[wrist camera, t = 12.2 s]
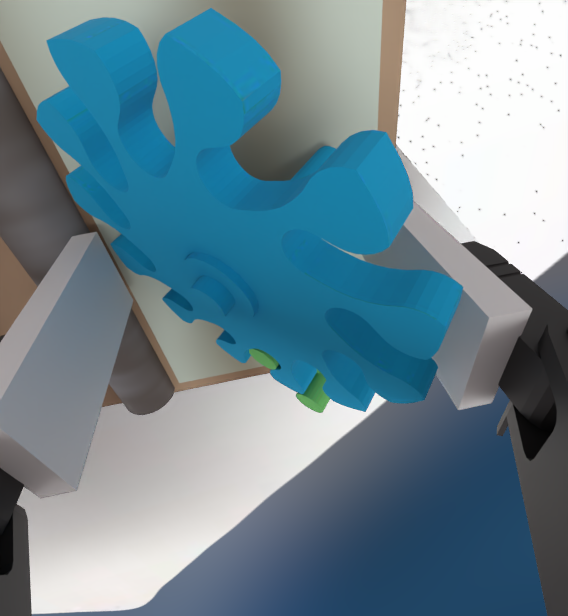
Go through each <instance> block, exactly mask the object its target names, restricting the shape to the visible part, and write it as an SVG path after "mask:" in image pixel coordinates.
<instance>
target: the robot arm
mask: <svg viewBox="0 0 568 616" xmlns="http://www.w3.org/2000/svg"><path fill="white" fill-rule="evenodd" d="M362 256H363V258H364V259H365V261H366V262H368V263H371V264H374V265H378V266H383V267H387V268H393V269H402V270H429V271H435V272H438V273H441V274H444V275H446V276H448V277H450V278H452V279H454V280H455V281H457V282H458V283H459V284H461V285H462V286H463V291H462V295H461V299H460V302H459V305H458V307H457V309H456V312H455V314H454V316H453V319H452V321H451V323H450V325H449V328H448V330H447V332H446V335H445V337H444V339H443V341H442V344H441V346H440V348H439V350H438V351H437V352H436V354H435V355H434V356H433V357H431V358H432V359H433V360H434V361H435V362H436V364H437V366H438V369H437V372H436V375H437V377H438V378H439V380H440V381H441V383H442V385H443V386H444V388H445V390H446V391H447V393H448V394H449V396H450V397H451V399H452V401H453V402H454V404H455V405H456V407H457V409H458V410H461V409H466V408H470V407H475V406H480V405H485V404H489V403H492V401H493V399H494V396H495V394H496V392H497V390H498V387H499V386H500V388H501V389H502V390H503V391H504V393H505V394H506V395H507V397H508V398H509V399H510V402H509V403H508V406H507V408H506V410H505V412H504V414H503V416H502V418H501V420H500V422H499V424H498V426H497V435H500V436H503V434H504V432H505V430H506V428H507V426H509V431H510V436H511V441H512V446H513V451H514V455H515V460H516V465H517V470H518V474H519V480H520V485H521V489H522V494H523V499H524V504H525V509H526V513H527V518H528V523H529V528H530V533H531V538H532V543H533V548H534V552H535V557H536V562H537V567H538V572H539V577H540V581H541V586H542V591H543V595H544V600H545V606H546V610H547V615H548V616H568V310H567V309H566V308H564V307H563V306H562V305H561V304H560V303H558V302H557V301H556V300H555V299H554V298H552V297H551V296H550V295H548V294H547V293H546V292H545V291H544V290H543V289H541V288H540V287H539V286H538V285H536V284H535V283H534V282H533V281H532V280H530V279H529V278H528V277H527V276H525V275H524V274H521V273H520V271H519V270H518V269H517V268H516V267H514V266H513V265H512V264H508V261H507V260H506V259H505V258H504V257H502V256H501V255H500V254H499V253H497V252H496V251H495V250H494V249H491V248H489V247H487V246H484V245H482V244H479V243H477V242H475V241H472V242H467V243H462V244H461V243H459V242H458V241H457V240H456V239H455V238H454V237H453V236H452V235H451V234H450V233H448V232H447V231H446V230H445V229H444V228H443V227H442V226H441V225H440V224H439V223H437V222H436V221H435V220H434V219H433V218H432V217H431V216H430V215H429V214H427V213H426V212H425V211H424V210H423V209H422V208H421V207H420V206H419V205H418V204H416V203H415V202H414V201H413V210H412V211H411V213H410V214H409V216H408V218H407V219H406V221H405V223H404V224H403V226H402V227H401V229H400V231H399V232H398V234H397V235H396V237H395V239H394V240H393V242H392V244H391V245H390V247H389V248H387V249H385V250H384V251H382V252H379V253H376V254H370V255H362ZM132 304H133V299H132V297H131V295H130V293H129V291H128V289H127V288H126V286H125V284H124V282H123V280H122V278H121V276H120V274H119V272H118V271H117V269H116V267H115V265H114V263H113V261H112V259H111V257H110V256H109V254H108V252H107V250H106V248H105V246H104V244H103V242H102V241H101V239H100V237H99V235H98V233H97V232H92V233H87V234H82V235H77V236H72V237H71V239H70V240H69V242H68V243H67V244H66V246H65V247H64V249H63V250H62V252H61V253H60V255H59V256H58V258H57V259H56V261H55V262H54V264H53V265H52V267H51V268H50V270H49V271H48V273H47V274H46V276H45V277H44V278H43V280H42V281H41V283H40V284H39V286H38V287H37V289H36V290H35V292H34V293H33V295H32V296H31V298H30V299H29V301H28V302H27V304H26V305H25V307H24V308H23V310H22V311H21V313H20V314H19V315H18V317H17V318H16V320H15V321H14V323H13V324H12V326H11V327H10V329H9V330H8V332H7V333H6V335H1V336H0V616H32V614H31V591H30V567H29V543H28V520H27V515H26V512H25V509H23V508H22V507H20V506H19V505H17V504H16V503H17V501H18V499H19V496H20V494H21V491H22V489H23V487H25V488H27V489H28V490H30V491H31V492H32V493H34V494H35V495H37V496H38V497H40V498H44V497H49V496H54V495H58V494H63V493H68V492H72V491H77V488H78V484H79V481H80V478H81V474H82V471H83V468H84V464H85V461H86V458H87V454H88V451H89V448H90V444H91V441H92V438H93V434H94V431H95V428H96V424H97V421H98V417H99V414H100V411H101V407H102V404H103V401H104V397H105V394H106V391H107V387H108V384H109V381H110V377H111V374H112V371H113V367H114V364H115V361H116V357H117V354H118V350H119V347H120V344H121V340H122V337H123V334H124V330H125V327H126V324H127V320H128V317H129V314H130V310H131V307H132Z"/></svg>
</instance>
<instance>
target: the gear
mask: <svg viewBox="0 0 568 616" xmlns="http://www.w3.org/2000/svg"><path fill="white" fill-rule="evenodd" d="M46 41H47V45H48V48H49V51H50V53H51V56H52V58H53V60H54V62H55V64H56V66H57V68H58V69H59V71H60V73H61V75H62V76H63V78H64V79H65V81H66V82H67V83H68V85H69V86H68V87H67V88H65V89H63V90H61V91H60V92H58V93H56V94H54V95H52V96H51V97H49V98H47V99H45V100H44V101H42V102H41V103H40V104H39V105H38V109H37V119H36V120H37V121H38V123H39V124H40V126H41V127H42V128H43V130H44V131H45V132H46V133H47V135H48V136H49V137H50V138H51V139H52V140H53V141H54V142H55V143H56V144H57V145H58V146H59V147H60V148H61V149H62V150H63V151H65V152H66V153H67V154H68V155H70V156H71V157H72V158H73V159H75V160H76V161H77V162H78V163H79V164H80V165H81V166H79V167H78V168H77V169H75V170H74V171H72V172H71V173H69V174H68V175H67V176H66V182H67V186H68V188H69V190H70V193H71V195H72V197H73V199H74V201H75V202H76V203H77V204H78V205H79V206H80V207H81V208H83V209H84V210H85V211H86V212H87V213H89V214H90V215H92V216H93V217H95V218H97V219H99V220H101V221H103V222H105V223H107V224H108V225H110V226H111V227H113V228H114V229H116V230H117V231H118V232H120V233H121V235H120V236H119V237H118V238H116V239H115V240H114V241H113V242H112V243H111V246H112V248H113V250H114V251H115V253H116V254H117V256H118V257H119V258H120V260H121V261H122V262H123V263H124V264H125V266H126V267H127V268H128V269H130V270H131V271H133V272H134V273H136V274H138V275H145V276H149V277H152V278H154V279H156V280H158V281H160V282H162V283H164V284H165V285H167V286H169V287H170V288H172V289H171V290H170V291H169V292H168V293H167V294H166V295H165V296H164V297H163V298H162V300H163V301H164V302H165V303H166V305H167V306H168V307H169V308H170V309H171V310H172V311H173V312H174V313H175V314H176V315H178V316H179V317H180V318H181V319H182V320H183V321H185V322H187V323H193V321H194V320H196V319H200V320H204V321H208V322H210V323H213V324H216V325H218V326H220V327H221V328H223V329H224V331H223V332H222V333H221V335H220V336H219V337H218V338H217V340H216V343H217V344H218V345H219V346H220V347H221V348H222V349H223V350H225V351H226V352H227V353H228V354H230V355H231V356H232V357H234V358H235V359H237V360H238V361H239V362H241V363H246V362H247V361H248V359H249V358H250V356H252V357H253V358H254V359H255V360H256V361H258V362H259V363H260V364H262V365H263V366H265V367H267V368H269V369H271V370H270V374H271V375H272V377H273V378H274V379H275V380H277V381H278V382H280V383H282V384H283V385H285V386H287V387H288V388H290V389H292V390H294V391H296V392H298V393H297V394H296V397H297V399H298V400H299V401H300V402H301V403H303V404H304V405H305V406H307V407H308V408H310V409H312V410H314V411H316V412H319V413H322V412H323V410H324V409H325V407H326V405H327V403H328V402H329V400H330V399H332V400H333V401H335V402H337V403H339V404H341V405H344V406H347V407H350V408H353V409H357V410H361V411H364V412H366V410H367V408H368V406H369V404H370V402H371V400H372V398H373V396H374V394H375V392H376V393H377V394H378V395H380V396H381V397H383V398H384V399H386V400H388V401H390V402H393V403H414V402H418V401H423V400H425V398H426V395H427V393H428V390H429V388H430V386H431V383H432V381H433V379H434V376H435V374H436V372H437V369H438V366H437V364H436V362H435V361H434V360H433V359H432V358H431V357H433V356H434V355H435V354H436V352H437V351H438V350H439V348H440V346H441V344H442V341H443V339H444V337H445V335H446V332H447V330H448V328H449V325H450V323H451V321H452V319H453V316H454V314H455V312H456V309H457V307H458V305H459V302H460V299H461V295H462V291H463V286H462V285H461V284H459V283H458V282H457V281H455V280H454V279H452V278H450V277H448V276H446V275H444V274H441V273H438V272H435V271H429V270H402V269H393V268H387V267H383V266H378V265H374V264H371V263H368V262H366V261H363V260H360V259H358V258H356V257H354V256H352V255H350V254H348V253H345V252H344V251H342V250H345V251H347V252H351V253H354V254H361V255H370V254H376V253H379V252H382V251H384V250H385V249H387V248H389V247H390V245H391V244H392V242H393V240H394V239H395V237H396V235H397V234H398V232H399V231H400V229H401V227H402V226H403V224H404V223H405V221H406V219H407V218H408V216H409V214H410V213H411V211H412V210H413V192H412V189H411V185H410V181H409V177H408V175H407V172H406V170H405V168H404V165H403V163H402V161H401V158H400V156H399V155H398V153H397V151H396V149H395V147H394V145H393V143H392V142H391V140H390V138H389V136H388V134H387V132H383V131H377V130H368V131H360V132H358V133H355V134H353V135H351V136H349V137H348V138H347V139H346V140H345V141H343V142H342V143H341V144H340V145H339V147H338V148H337V149H335V148H334V147H331V146H323V147H321V148H319V149H318V150H317V152H316V153H315V154H314V155H313V156H312V157H311V158H310V159H309V160H308V161H307V162H306V163H305V165H304V166H303V167H302V168H301V169H300V170H299V171H298V172H297V173H296V174H295V175H294V176H293V177H292V179H291V180H287V181H263V180H259V179H256V178H254V177H253V176H251V175H249V174H248V173H247V172H246V171H245V170H244V169H243V168H242V167H241V166H240V165H239V164H238V162H237V161H236V159H235V157H234V155H233V153H232V151H231V148H230V145H232V144H233V143H235V142H236V141H237V140H238V139H239V138H241V137H242V136H243V135H244V134H245V133H246V132H247V131H249V130H250V129H251V128H252V127H253V126H254V125H255V124H257V123H258V122H259V121H260V120H261V119H262V118H263V117H265V116H266V115H267V114H268V113H269V112H270V111H271V110H272V109H273V108H274V106H275V105H276V103H277V101H278V98H279V95H280V90H281V70H280V69H279V67H278V66H277V65H276V63H275V62H274V61H273V59H272V58H271V56H270V55H269V54H268V53H267V51H266V50H265V49H264V48H263V47H262V46H261V45H260V44H259V43H258V42H257V41H256V40H255V39H254V38H253V37H251V36H250V35H249V34H248V33H246V32H245V31H244V30H243V29H241V28H240V27H239V26H238V25H236V24H235V23H233V22H232V21H230V20H229V19H227V18H226V17H224V16H223V15H221V14H220V13H218V12H217V11H215V10H214V9H212V8H210V9H208V10H206V11H205V12H203V13H201V14H199V15H197V16H196V17H194V18H192V19H190V20H189V21H187V22H185V23H183V24H182V25H180V26H178V27H176V28H175V29H173V30H171V31H169V32H168V33H166V34H165V35H164V36H163V38H162V39H161V41H160V42H159V46H158V50H157V69H158V74H159V78H160V82H161V85H162V88H163V90H164V93H165V96H166V99H167V102H168V105H169V109H170V113H171V117H172V121H173V126H174V134H175V147H174V146H173V145H172V144H171V143H170V142H169V141H168V140H167V139H166V137H165V136H164V135H163V133H162V132H161V130H160V129H159V127H158V125H157V123H156V121H155V118H154V115H153V109H152V104H153V99H154V95H155V92H156V88H157V81H158V78H157V69H156V65H155V61H154V58H153V56H152V53H151V50H150V48H149V46H148V44H147V42H146V40H145V38H144V36H143V35H142V33H141V32H140V30H139V28H138V27H136V26H134V25H132V24H130V23H129V22H127V21H124V20H121V19H117V18H108V17H102V18H97V19H91V20H88V21H86V22H84V23H82V24H80V25H78V26H76V27H74V28H72V29H69V30H67V31H65V32H63V33H61V34H59V35H57V36H55V37H53V38H51V39H48V40H46ZM321 238H322V239H321ZM324 240H325V241H324ZM326 241H327V242H329V243H331V244H332V245H331V244H329V243H327V242H326ZM333 245H334V246H333ZM335 246H336V247H338V248H340V249H342V250H340V249H338V248H336V247H335Z"/></svg>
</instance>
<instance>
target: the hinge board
mask: <svg viewBox="0 0 568 616" xmlns="http://www.w3.org/2000/svg"><path fill="white" fill-rule="evenodd" d="M210 8H212V9H214V10H215V11H217V12H218V13H220V14H221V15H223V16H224V17H226V18H227V19H229V20H230V21H232V22H233V23H235V24H236V25H238V26H239V27H240V28H241V29H243V30H244V31H245V32H246V33H248V34H249V35H250V36H251V37H253V38H254V39H255V40H256V41H257V42H258V43H259V44H260V45H261V46H262V47H263V48H264V49H265V50H266V51H267V53H268V54H269V55H270V56H271V58H272V59H273V61H274V62H275V63H276V65H277V66H278V67H279V69H280V70H281V90H280V95H279V98H278V101H277V103H276V105H275V106H274V108H273V109H272V110H271V111H270V112H269V113H268V114H267V115H266V116H265V117H263V118H262V119H261V120H260V121H259V122H258V123H257V124H255V125H254V126H253V127H252V128H251V129H250V130H249V131H247V132H246V133H245V134H244V135H243V136H242V137H241V138H239V139H238V140H237V141H236V142H235V143H233V144H232V145H230V148H231V151H232V153H233V155H234V157H235V159H236V161H237V162H238V164H239V165H240V166H241V167H242V168H243V169H244V170H245V171H246V172H247V173H248V174H249V175H251V176H253V177H254V178H256V179H259V180H263V181H287V180H291V179H292V177H293V176H294V175H295V174H296V173H297V172H298V171H299V170H300V169H301V168H302V167H303V166H304V165H305V163H306V162H307V161H308V160H309V159H310V158H311V157H312V156H313V155H314V154H315V153H316V152H317V150H318V149H319V148H321V147H323V146H331V147H334V148H335V149H337V148H338V147H339V145H340V144H341V143H342V142H343V141H345V140H346V139H347V138H348V137H349V136H351V135H353V134H355V133H358V132H360V131H368V130H377V131H383V132H387V134H388V136H389V138H390V140H391V142H392V143H393V145H394V147H396V134H397V120H398V106H399V93H400V79H401V65H402V52H403V38H404V24H405V10H406V0H0V336H1V335H6V333H7V332H8V330H9V329H10V327H11V326H12V324H13V323H14V321H15V320H16V318H17V317H18V315H19V314H20V313H21V311H22V310H23V308H24V307H25V305H26V304H27V302H28V301H29V299H30V298H31V296H32V295H33V293H34V292H35V290H36V289H37V287H38V286H39V284H40V283H41V281H42V280H43V278H44V277H45V276H46V274H47V273H48V271H49V270H50V268H51V267H52V265H53V264H54V262H55V261H56V259H57V258H58V256H59V255H60V253H61V252H62V250H63V249H64V247H65V246H66V244H67V243H68V242H69V240H70V239H71V237H72V236H77V235H82V234H87V233H92V232H97V233H98V235H99V237H100V239H101V241H102V242H103V244H104V246H105V248H106V250H107V252H108V254H109V256H110V257H111V259H112V261H113V263H114V265H115V267H116V269H117V271H118V272H119V274H120V276H121V278H122V280H123V282H124V284H125V286H126V288H127V289H128V291H129V293H130V295H131V297H132V299H133V304H132V307H131V310H130V314H129V317H128V320H127V324H126V327H125V330H124V334H123V337H122V340H121V344H120V347H119V350H118V354H117V357H116V361H115V364H114V367H113V371H112V374H111V377H110V381H109V384H108V387H107V391H106V394H105V397H104V401H103V404H102V407H104V406H109V405H114V404H119V403H123V404H124V405H125V406H126V408H127V409H128V410H129V411H130V412H131V413H133V414H137V415H145V414H150V413H152V412H155V411H157V410H159V409H160V408H162V407H163V406H164V405H165V404H166V403H167V402H168V401H169V400H170V399H171V397H172V396H173V393H174V392H178V391H183V390H188V389H193V388H198V387H202V386H207V385H212V384H217V383H222V382H227V381H232V380H237V379H242V378H247V377H251V376H256V375H261V374H266V373H270V370H271V369H269V368H267V367H265V366H263V365H262V364H260V363H259V362H258V361H256V360H255V359H254V358H253V357H252V356H250V358H249V359H248V361H247V362H246V363H241V362H239V361H238V360H237V359H235V358H234V357H232V356H231V355H230V354H228V353H227V352H226V351H225V350H223V349H222V348H221V347H220V346H219V345H218V344H217V343H216V340H217V338H218V337H219V336H220V335H221V333H222V332H223V331H224V329H223V328H221V327H220V326H218V325H216V324H213V323H210V322H208V321H204V320H200V319H196V320H194V321H193V323H187V322H185V321H183V320H182V319H181V318H180V317H179V316H178V315H176V314H175V313H174V312H173V311H172V310H171V309H170V308H169V307H168V306H167V305H166V303H165V302H164V301H163V300H162V298H163V297H164V296H165V295H166V294H167V293H168V292H169V291H170V290H171V289H172V288H170V287H169V286H167V285H165V284H164V283H162V282H160V281H158V280H156V279H154V278H152V277H149V276H145V275H138V274H136V273H134V272H133V271H131V270H130V269H128V268H127V267H126V266H125V264H124V263H123V262H122V261H121V260H120V258H119V257H118V256H117V254H116V253H115V251H114V250H113V248H112V246H111V243H112V242H113V241H114V240H115V239H116V238H118V237H119V236H120V235H121V233H120V232H118V231H117V230H116V229H114V228H113V227H111V226H110V225H108V224H107V223H105V222H103V221H101V220H99V219H97V218H95V217H93V216H92V215H90V214H89V213H87V212H86V211H85V210H84V209H83V208H81V207H80V206H79V205H78V204H77V203H76V202H75V201H74V199H73V197H72V195H71V193H70V190H69V188H68V186H67V182H66V176H67V175H68V174H69V173H71V172H72V171H74V170H75V169H77V168H78V167H79V166H81V165H80V164H79V163H78V162H77V161H76V160H75V159H73V158H72V157H71V156H70V155H68V154H67V153H66V152H65V151H63V150H62V149H61V148H60V147H59V146H58V145H57V144H56V143H55V142H54V141H53V140H52V139H51V138H50V137H49V136H48V135H47V133H46V132H45V131H44V130H43V128H42V127H41V126H40V124H39V123H38V121H37V120H36V119H37V109H38V105H39V104H40V103H41V102H42V101H44V100H45V99H47V98H49V97H51V96H52V95H54V94H56V93H58V92H60V91H61V90H63V89H65V88H67V87H68V86H69V85H68V83H67V82H66V81H65V79H64V78H63V76H62V75H61V73H60V71H59V69H58V68H57V66H56V64H55V62H54V60H53V58H52V56H51V53H50V51H49V48H48V45H47V41H46V40H48V39H51V38H53V37H55V36H57V35H59V34H61V33H63V32H65V31H67V30H69V29H72V28H74V27H76V26H78V25H80V24H82V23H84V22H86V21H88V20H91V19H97V18H102V17H108V18H117V19H121V20H124V21H127V22H129V23H130V24H132V25H134V26H136V27H138V28H139V30H140V32H141V33H142V35H143V36H144V38H145V40H146V42H147V44H148V46H149V48H150V50H151V53H152V56H153V58H154V61H155V65H156V69H157V50H158V46H159V42H160V41H161V39H162V38H163V36H164V35H165V34H166V33H168V32H169V31H171V30H173V29H175V28H176V27H178V26H180V25H182V24H183V23H185V22H187V21H189V20H190V19H192V18H194V17H196V16H197V15H199V14H201V13H203V12H205V11H206V10H208V9H210ZM157 78H158V81H157V88H156V92H155V95H154V99H153V104H152V109H153V115H154V118H155V121H156V123H157V125H158V127H159V129H160V130H161V132H162V133H163V135H164V136H165V137H166V139H167V140H168V141H169V142H170V143H171V144H172V145H173V146H174V147H175V134H174V126H173V121H172V117H171V113H170V109H169V105H168V102H167V99H166V96H165V93H164V90H163V88H162V85H161V82H160V78H159V74H158V69H157ZM321 239H322V238H321ZM324 241H325V240H324ZM326 242H327V241H326ZM327 243H329V242H327ZM329 244H331V243H329ZM331 245H332V244H331ZM333 246H334V245H333ZM335 247H336V246H335ZM336 248H338V247H336ZM338 249H340V248H338ZM340 250H342V249H340ZM342 251H344V252H345V253H348V254H350V255H352V256H354V257H356V258H358V259H360V260H363V261H365V259H364V258H363V256H362V255H361V254H354V253H351V252H347V251H345V250H342Z"/></svg>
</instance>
